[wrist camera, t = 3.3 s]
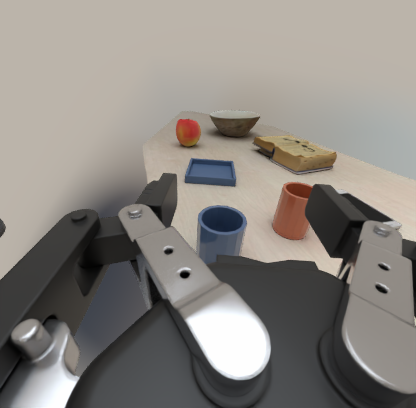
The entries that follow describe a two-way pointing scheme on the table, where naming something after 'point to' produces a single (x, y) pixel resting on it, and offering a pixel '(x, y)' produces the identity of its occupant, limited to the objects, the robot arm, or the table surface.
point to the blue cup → (220, 232)
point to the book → (295, 154)
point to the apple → (188, 132)
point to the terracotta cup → (292, 211)
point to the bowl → (234, 122)
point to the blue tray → (211, 172)
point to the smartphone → (369, 210)
